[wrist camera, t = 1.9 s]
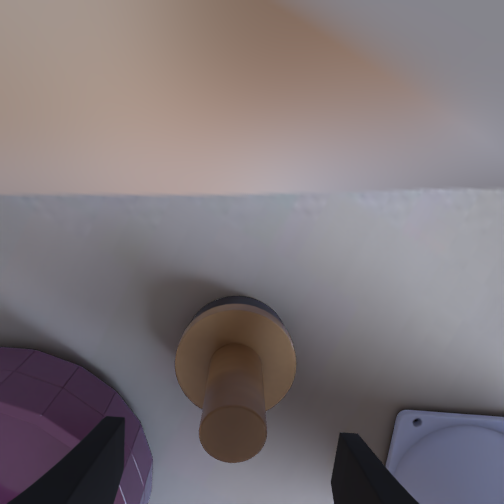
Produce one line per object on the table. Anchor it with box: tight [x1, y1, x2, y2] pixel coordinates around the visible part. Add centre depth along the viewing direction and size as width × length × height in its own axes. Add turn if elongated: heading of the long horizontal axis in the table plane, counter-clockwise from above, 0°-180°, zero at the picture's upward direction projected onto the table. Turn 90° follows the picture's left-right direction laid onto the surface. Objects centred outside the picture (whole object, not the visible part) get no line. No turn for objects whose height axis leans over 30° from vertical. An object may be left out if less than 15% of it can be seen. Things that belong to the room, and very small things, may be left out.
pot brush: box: [175, 296, 296, 463], centre depth 17 cm, size 6×6×7 cm
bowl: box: [0, 347, 153, 504], centre depth 20 cm, size 14×14×4 cm
